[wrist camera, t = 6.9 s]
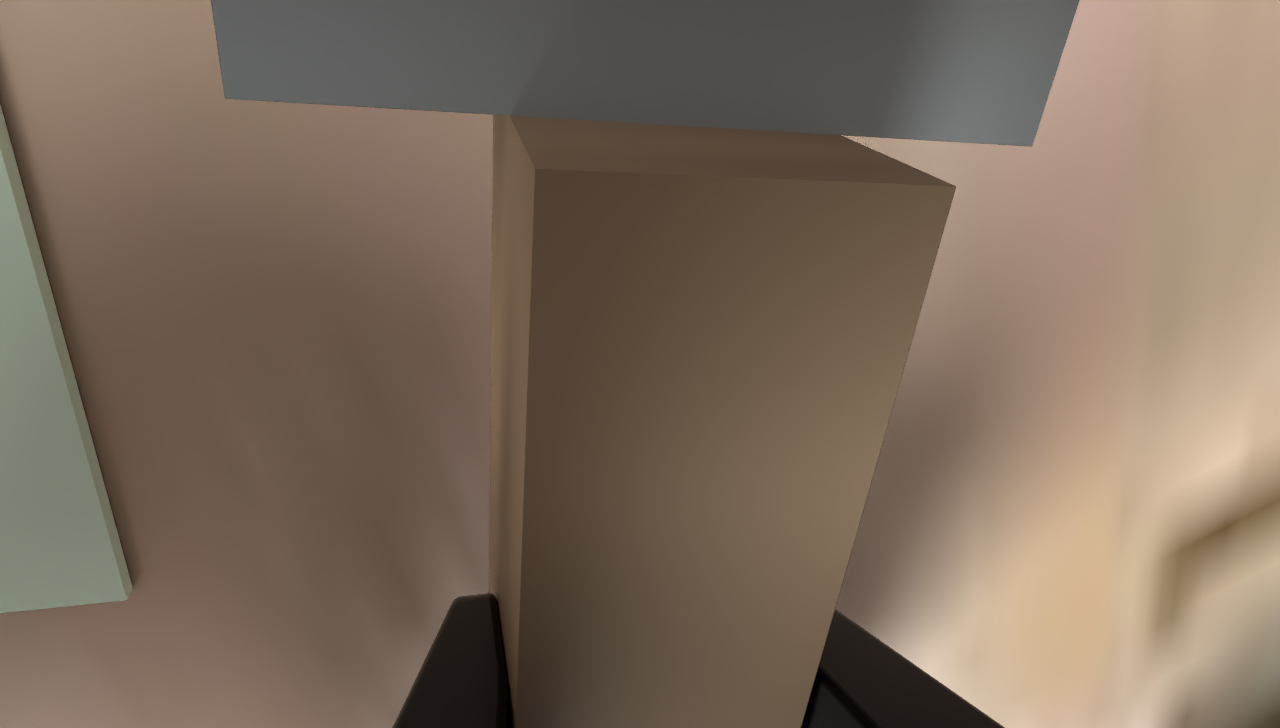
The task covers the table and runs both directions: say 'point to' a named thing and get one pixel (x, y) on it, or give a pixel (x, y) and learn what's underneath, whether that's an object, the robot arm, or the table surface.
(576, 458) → the turner
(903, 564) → the table surface
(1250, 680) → the table surface
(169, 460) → the table surface
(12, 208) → the mat
